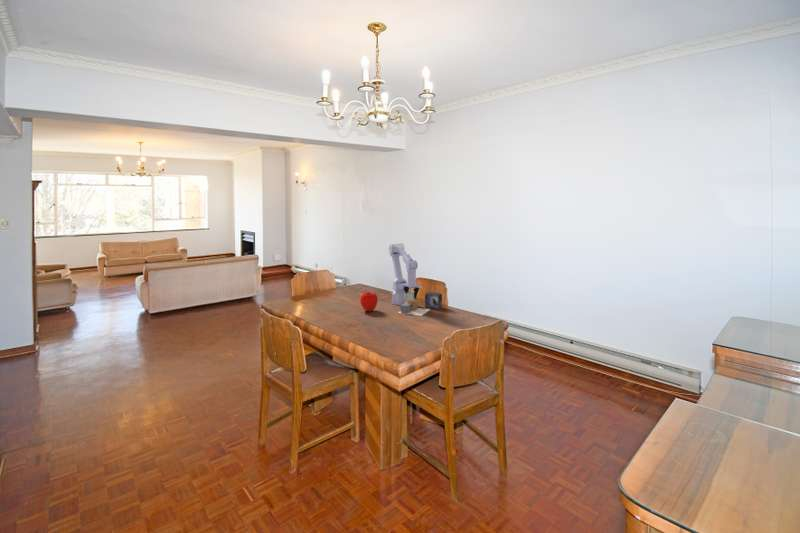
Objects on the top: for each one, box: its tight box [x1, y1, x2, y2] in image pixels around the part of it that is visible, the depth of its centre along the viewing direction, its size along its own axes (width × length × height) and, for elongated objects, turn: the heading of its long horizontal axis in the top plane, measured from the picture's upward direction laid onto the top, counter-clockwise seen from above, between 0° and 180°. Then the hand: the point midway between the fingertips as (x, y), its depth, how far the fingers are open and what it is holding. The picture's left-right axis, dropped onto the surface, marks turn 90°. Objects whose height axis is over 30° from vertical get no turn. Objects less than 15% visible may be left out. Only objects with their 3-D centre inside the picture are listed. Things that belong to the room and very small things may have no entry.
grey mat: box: [398, 307, 431, 317], centre depth 269 cm, size 17×16×1 cm
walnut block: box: [406, 301, 419, 311], centre depth 273 cm, size 7×7×4 cm
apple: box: [359, 291, 379, 312], centre depth 269 cm, size 12×12×13 cm
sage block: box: [406, 290, 416, 302], centre depth 272 cm, size 5×5×5 cm
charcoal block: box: [400, 304, 410, 314], centre depth 266 cm, size 5×5×5 cm
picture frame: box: [424, 291, 443, 310], centre depth 278 cm, size 11×6×10 cm, turn 62°
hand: (411, 297), depth 272 cm, fingers closed on sage block, 5 cm apart
